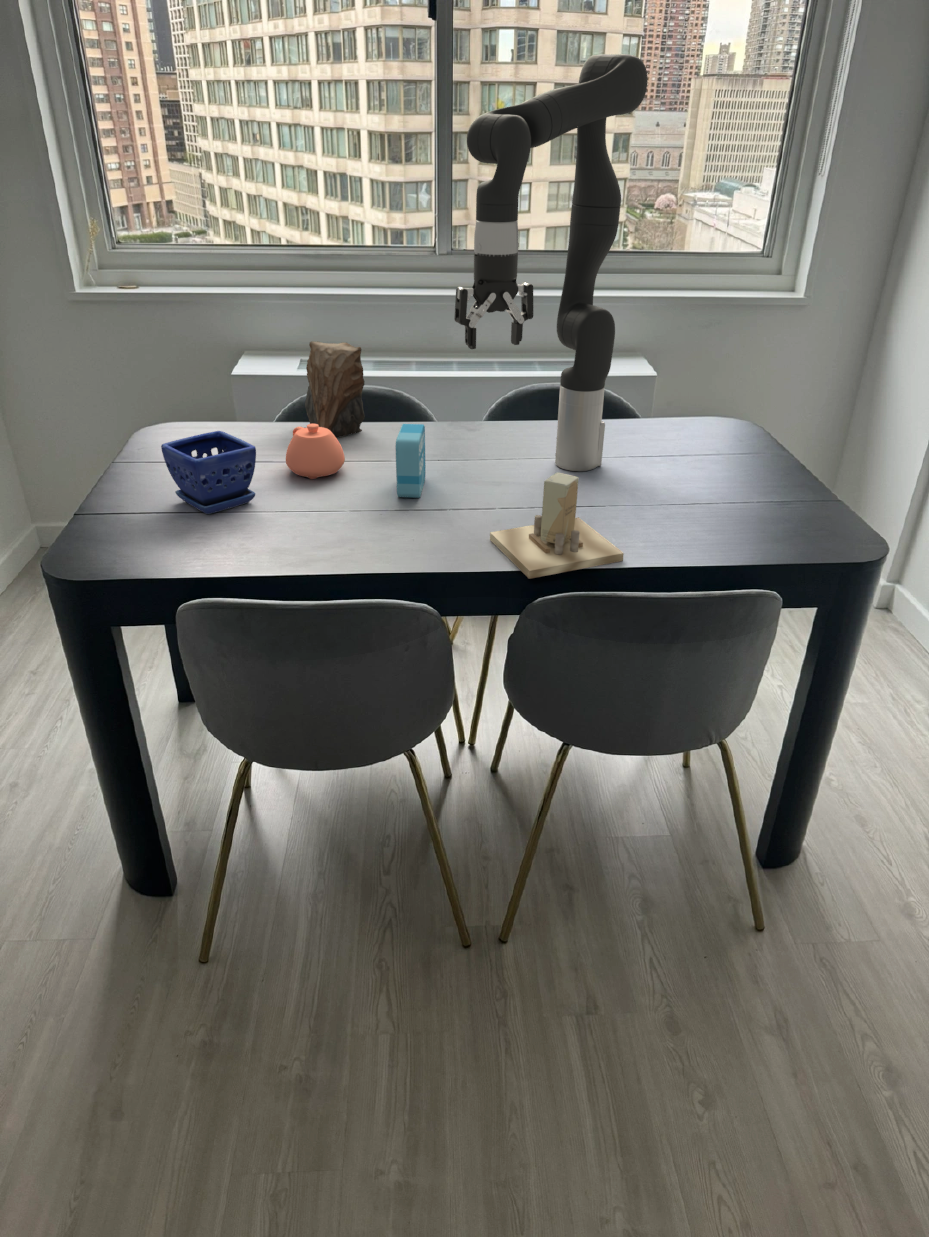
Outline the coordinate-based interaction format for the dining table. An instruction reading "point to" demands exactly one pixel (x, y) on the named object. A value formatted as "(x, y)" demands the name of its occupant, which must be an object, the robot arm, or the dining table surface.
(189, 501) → the flower pot
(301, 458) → the sugar bowl
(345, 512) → the dining table surface
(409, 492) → the data package
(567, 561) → the tray
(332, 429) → the owl
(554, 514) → the box
